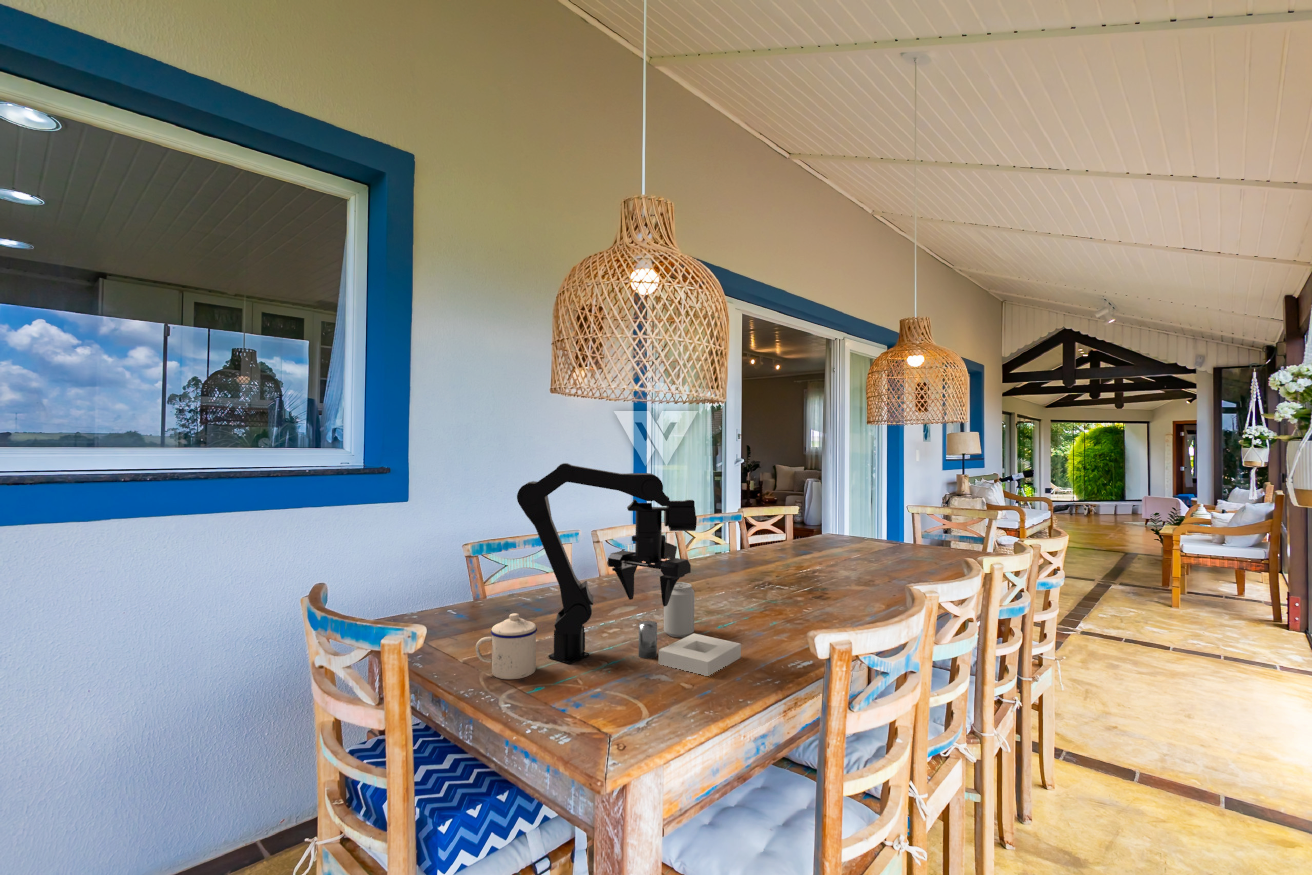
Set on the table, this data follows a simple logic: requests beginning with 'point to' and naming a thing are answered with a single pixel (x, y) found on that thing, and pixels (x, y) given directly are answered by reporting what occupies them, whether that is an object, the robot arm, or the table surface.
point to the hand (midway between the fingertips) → (647, 602)
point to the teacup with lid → (511, 648)
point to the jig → (700, 654)
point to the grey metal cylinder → (647, 639)
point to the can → (680, 611)
